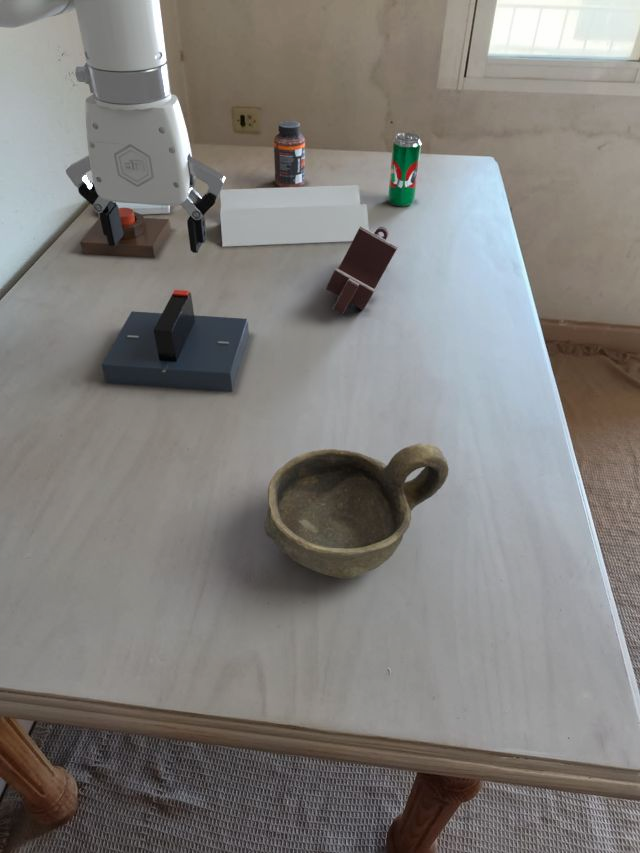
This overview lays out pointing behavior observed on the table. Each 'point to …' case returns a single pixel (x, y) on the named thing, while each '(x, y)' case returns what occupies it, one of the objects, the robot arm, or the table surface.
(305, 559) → the bowl
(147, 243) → the button base
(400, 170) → the soda can
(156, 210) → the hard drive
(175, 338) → the black rectangular block
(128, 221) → the button
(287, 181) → the supplement bottle
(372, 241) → the bracket
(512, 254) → the table surface
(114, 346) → the lever switch
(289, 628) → the table surface
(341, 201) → the z bracket
